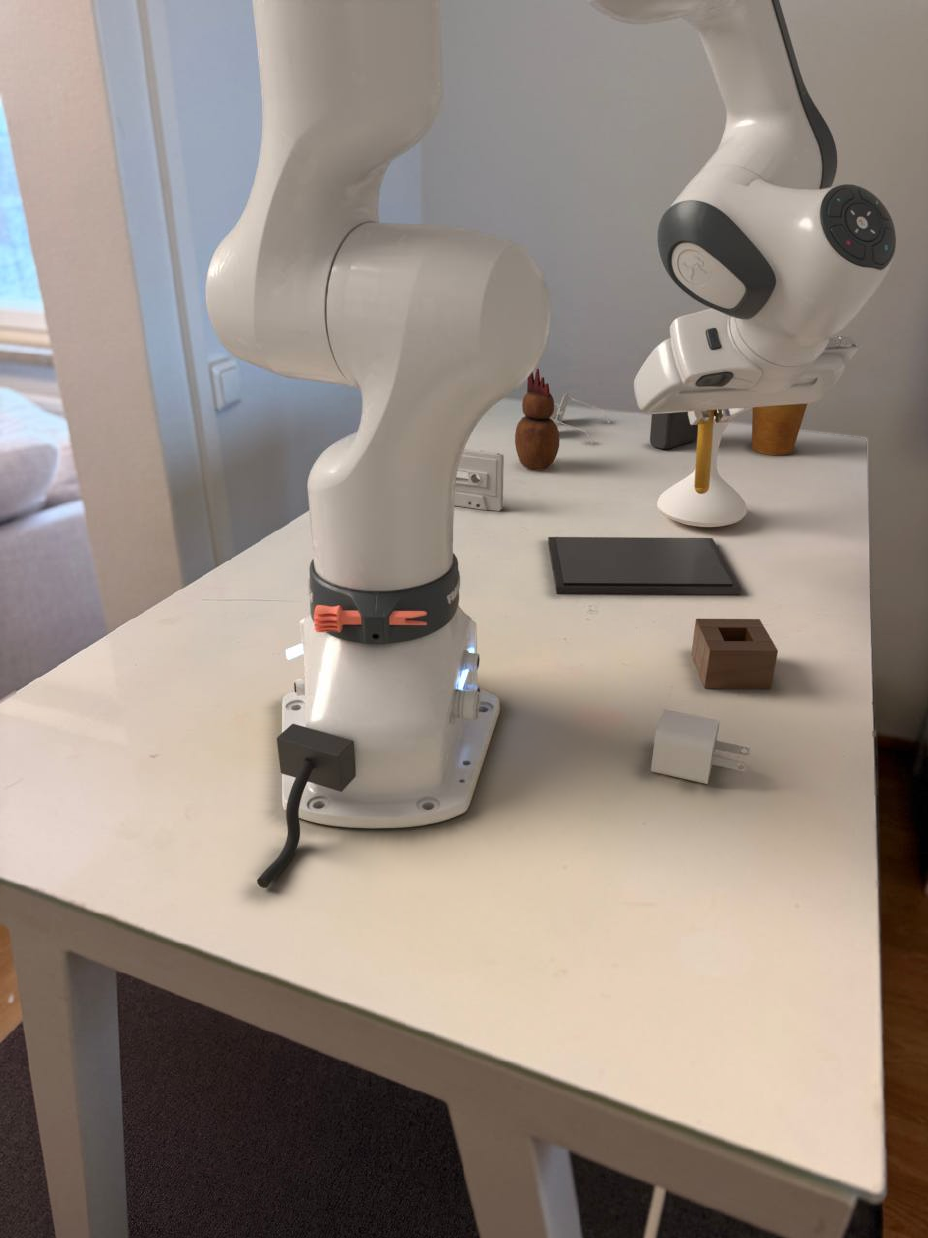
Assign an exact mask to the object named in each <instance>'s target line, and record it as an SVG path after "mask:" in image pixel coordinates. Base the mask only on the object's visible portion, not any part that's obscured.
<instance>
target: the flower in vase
mask: <svg viewBox="0 0 928 1238" xmlns="http://www.w3.org/2000/svg"><path fill="white" fill-rule="evenodd" d="M715 418H716V417H715V416H714V424H713V439H712V454H711V469H710V484H709V490H708V491H707V492H706V493H704V494H699V493H697V492H696V491H695V488H694V485H695V469H694V470H693V472H691V473H690V474H689V475H688V476H686V477H685V478H683V479H681V480H679V481H678V482H675V483H674V484H673V485H671V486H670V487H669V488H667V489H666V490H665V491H663V492H662V493H661V494H660V495H659V498H658V499H657V502H656V506H657V508H658V510H659V511H660V513H661V514H662V515H663V516H664V517H666V518H668V519H670V520H672V521H674V522H677V523H680V524H684V525H687V526H692V527H698V528H719V527H726V526H729V525H733V524H737V523H738V522H740V521H741V520H742V519H743V518H744V517H745V516H746V515H747V513H748V507H747V504H746V502H745V500H744V499H743V497H742V496H741V495H740V493H739V492H737V490H735V489H734V488H733V487H732V486H731V485H730V484H729V483H728V482H726V480H724V479H723V478H722V476H721V475H720V473H719V471H718V465H717V463H718V454H719V449H720V448H719V447H720V444H721V440H722V437H723V435H724V432H725V430H726V428H727V427H728V425H729V424H730V422H727V423H716V421H715Z"/></svg>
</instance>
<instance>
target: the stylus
mask: <svg viewBox="0 0 928 1238" xmlns="http://www.w3.org/2000/svg"><path fill="white" fill-rule="evenodd" d="M707 411H708V412H709V416H710V418H709V419H708V420H707V421H706V423H705V424H698V435H697V438H696V451H695V452H696V454H695V469H694V470H695V485H694V488H695V491H696V492H697V493H699V494H704V493H706V492H707V491H708V490H709V484H710V469H711V454H712V439H713V424H714V410H707Z"/></svg>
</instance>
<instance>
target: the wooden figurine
mask: <svg viewBox="0 0 928 1238" xmlns="http://www.w3.org/2000/svg"><path fill="white" fill-rule="evenodd" d="M526 387H527V388H526V393H525V395H524V396H523V399H522V403H521V405H522V406H521V407H522V409H521V410H522V413H523V415H524V416H523V417H522V418H521V419H520V420H519V421H518V422H517V425H516V428H515V433H514V441H515V442H514V443H515V444H514V445H515V450H516V454H517V457H518V460H519V462H520V464H521V465H522V466H523V467H524V468H527V469H529V470H533V471H541V470H542V471H543V470H546V469H549V468H550V467H551V466H552V465H553V464H554V461H555V460H556V458H557V455H558V452H559V449H560V440H561V439H560V432H559V428H558V426H557V424H556V422H555V421H553V420H552V419H550V417H551V416H552V414H553V412H554V405H555V399H554V396H552V394H551V391H550V384H549V383H548V382H547V383H545V377H544V376H542V377H541V375H540V368H536V369H535V376H534V371H533V372H532V373H531V374H530V376H529V377H528V378H527V385H526Z"/></svg>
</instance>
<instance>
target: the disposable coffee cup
mask: <svg viewBox="0 0 928 1238" xmlns="http://www.w3.org/2000/svg"><path fill="white" fill-rule="evenodd" d="M808 404H809V403H807V404H791V405H777V406H762V407H753V408H752V418H751V420H752V421H751V426H752V427H751V429H752V430H751V449H752V450H753V451H755V452H757V453H758V454H763V455H768V456H785V455H789V454H792V453H793V452H794V448H795V445H796V442H797V439H798V435H799V432H800V430H801V426H802V423H803V421H804V420H803V419H804V418H805V417H804V416H805V413H806V410H807V407H808Z"/></svg>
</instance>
